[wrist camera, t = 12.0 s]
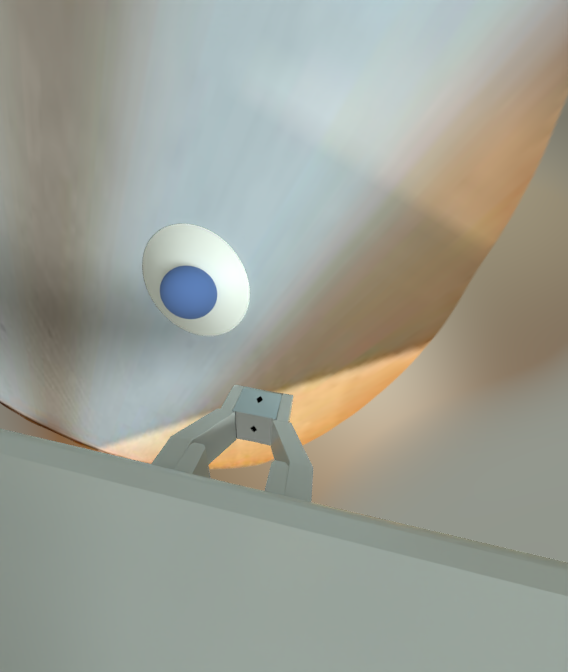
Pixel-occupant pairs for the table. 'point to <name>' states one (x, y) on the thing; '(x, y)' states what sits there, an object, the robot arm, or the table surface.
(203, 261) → the disc
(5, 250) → the table surface
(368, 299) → the table surface
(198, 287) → the ball
